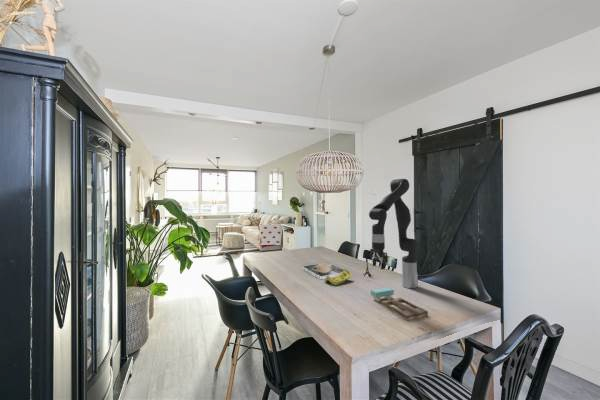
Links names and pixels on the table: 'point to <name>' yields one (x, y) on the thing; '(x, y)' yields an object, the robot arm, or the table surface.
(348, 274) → the plastic component
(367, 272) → the eiffel tower figurine
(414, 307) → the slot board
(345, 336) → the table surface
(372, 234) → the robot arm
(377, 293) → the panel
